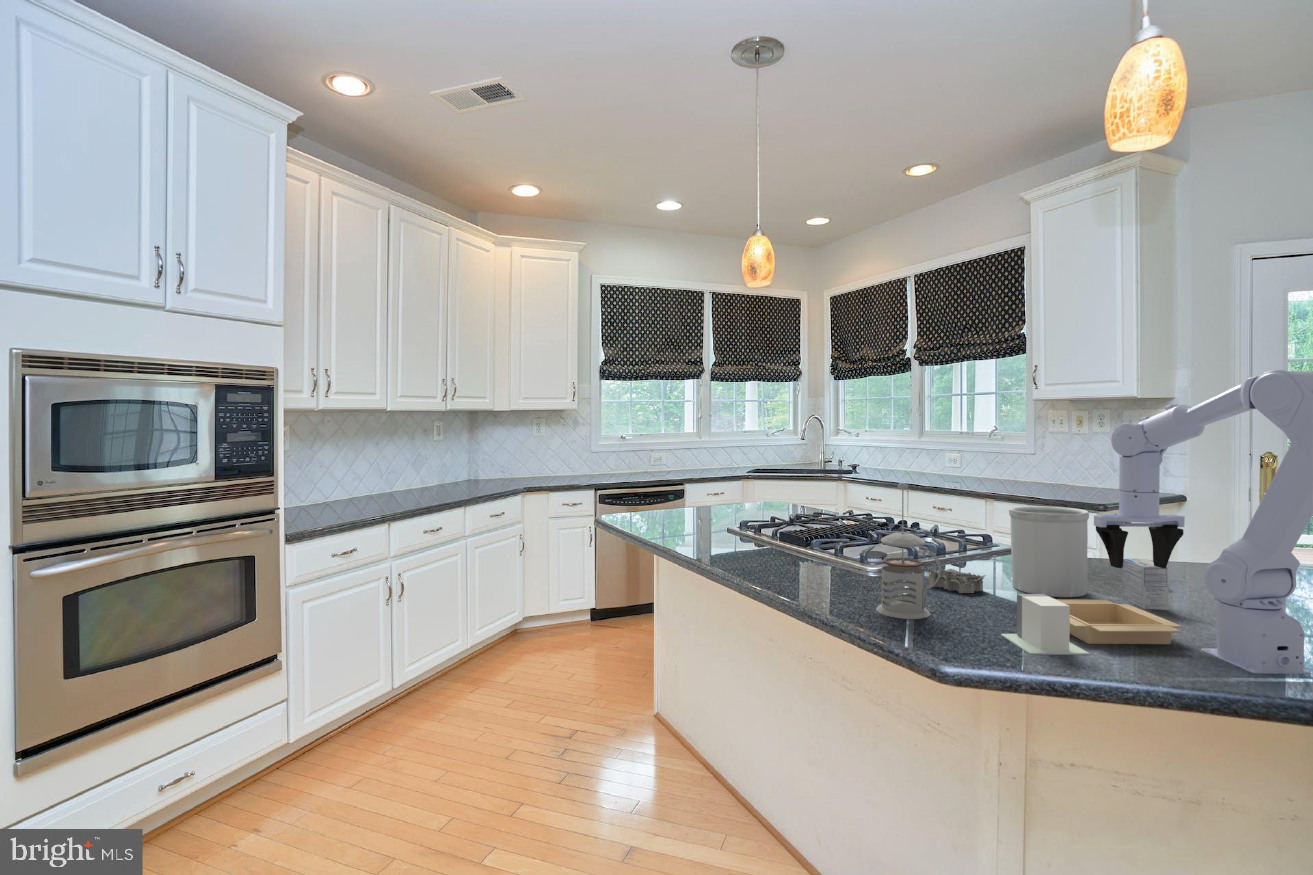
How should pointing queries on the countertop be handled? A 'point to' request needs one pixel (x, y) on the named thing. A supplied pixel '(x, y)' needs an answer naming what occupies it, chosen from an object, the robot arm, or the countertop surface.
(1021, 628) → the grey box
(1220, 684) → the countertop surface
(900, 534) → the french press
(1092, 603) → the tan flat tray
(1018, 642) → the mat
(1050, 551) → the utensil holder
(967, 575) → the egg carton
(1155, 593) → the medicine box
